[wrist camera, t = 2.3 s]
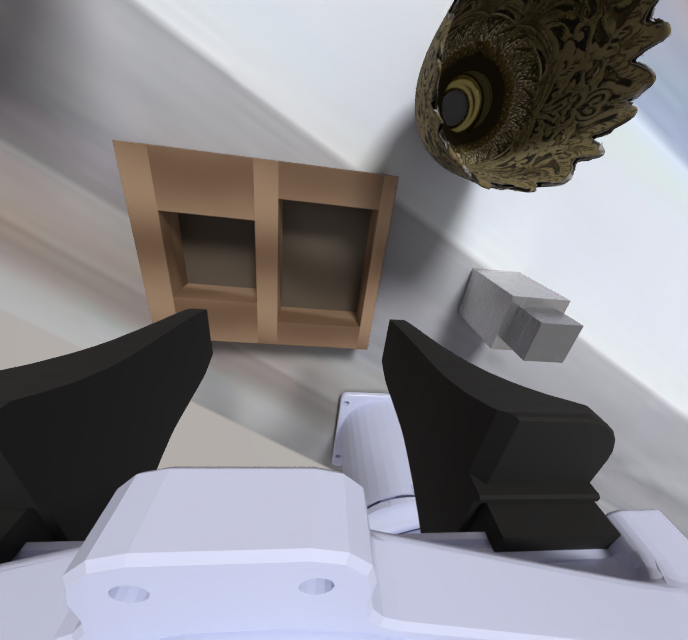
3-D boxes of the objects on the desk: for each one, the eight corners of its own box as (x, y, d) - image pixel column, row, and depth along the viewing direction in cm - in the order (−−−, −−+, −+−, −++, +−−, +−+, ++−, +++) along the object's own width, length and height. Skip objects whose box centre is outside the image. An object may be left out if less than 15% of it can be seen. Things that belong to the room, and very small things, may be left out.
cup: (374, 169, 17) (410, 173, 10) (407, -1, 14) (493, -165, 7) (488, 191, 18) (591, 208, 11) (544, 38, 15) (739, -71, 8)
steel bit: (501, 315, 23) (567, 371, 17) (458, 312, 23) (509, 368, 16) (518, 272, 21) (599, 316, 15) (472, 268, 21) (536, 311, 15)
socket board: (362, 331, 23) (367, 349, 20) (172, 319, 21) (155, 337, 19) (388, 175, 18) (398, 176, 15) (140, 143, 16) (112, 140, 14)
